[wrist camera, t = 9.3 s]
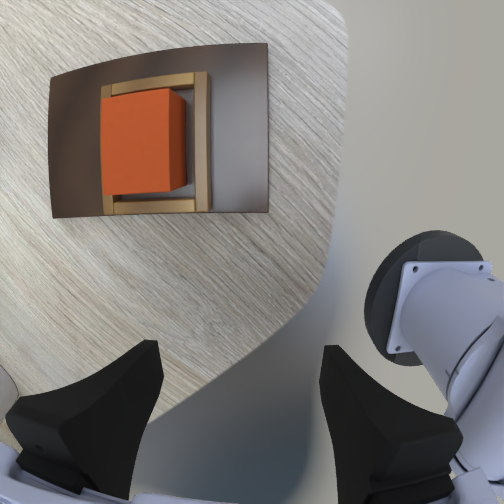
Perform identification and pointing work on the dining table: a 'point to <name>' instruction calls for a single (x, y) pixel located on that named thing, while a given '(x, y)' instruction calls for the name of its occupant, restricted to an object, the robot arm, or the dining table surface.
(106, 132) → the orange block
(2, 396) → the coffee cup
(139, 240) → the dining table surface
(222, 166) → the base pad
